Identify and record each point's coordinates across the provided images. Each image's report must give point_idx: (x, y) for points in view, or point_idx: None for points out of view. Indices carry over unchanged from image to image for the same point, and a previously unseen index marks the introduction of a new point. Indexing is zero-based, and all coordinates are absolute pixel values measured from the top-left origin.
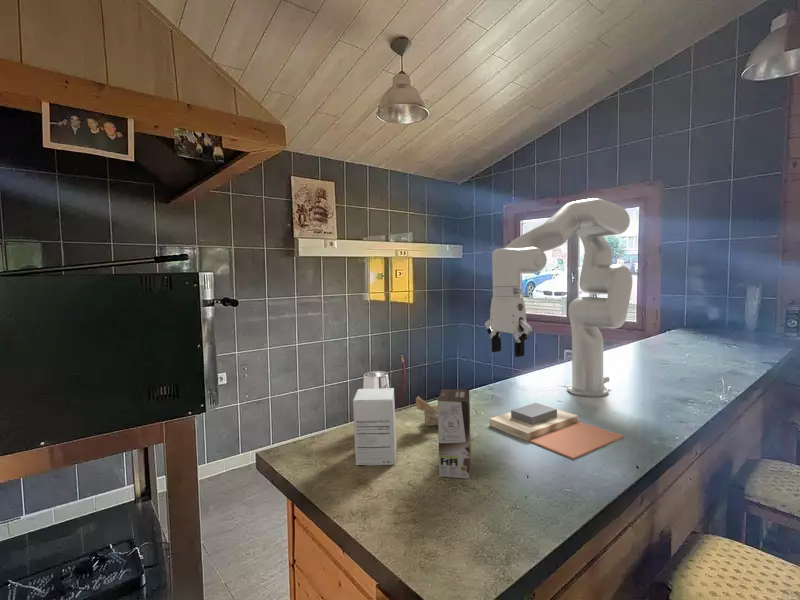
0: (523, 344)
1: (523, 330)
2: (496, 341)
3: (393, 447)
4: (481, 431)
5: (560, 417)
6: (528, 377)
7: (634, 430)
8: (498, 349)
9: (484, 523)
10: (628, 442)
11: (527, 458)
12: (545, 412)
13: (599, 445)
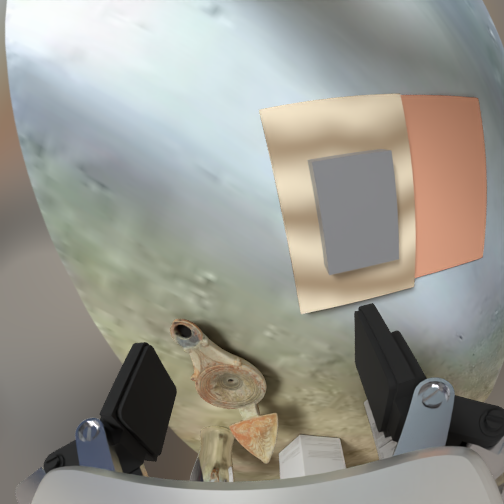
0: (421, 379)
1: (421, 464)
2: (150, 427)
3: (343, 455)
4: (316, 331)
5: (391, 146)
6: (17, 17)
7: (458, 46)
8: (157, 369)
9: (462, 392)
10: (489, 114)
11: (440, 314)
12: (394, 201)
13: (485, 179)
